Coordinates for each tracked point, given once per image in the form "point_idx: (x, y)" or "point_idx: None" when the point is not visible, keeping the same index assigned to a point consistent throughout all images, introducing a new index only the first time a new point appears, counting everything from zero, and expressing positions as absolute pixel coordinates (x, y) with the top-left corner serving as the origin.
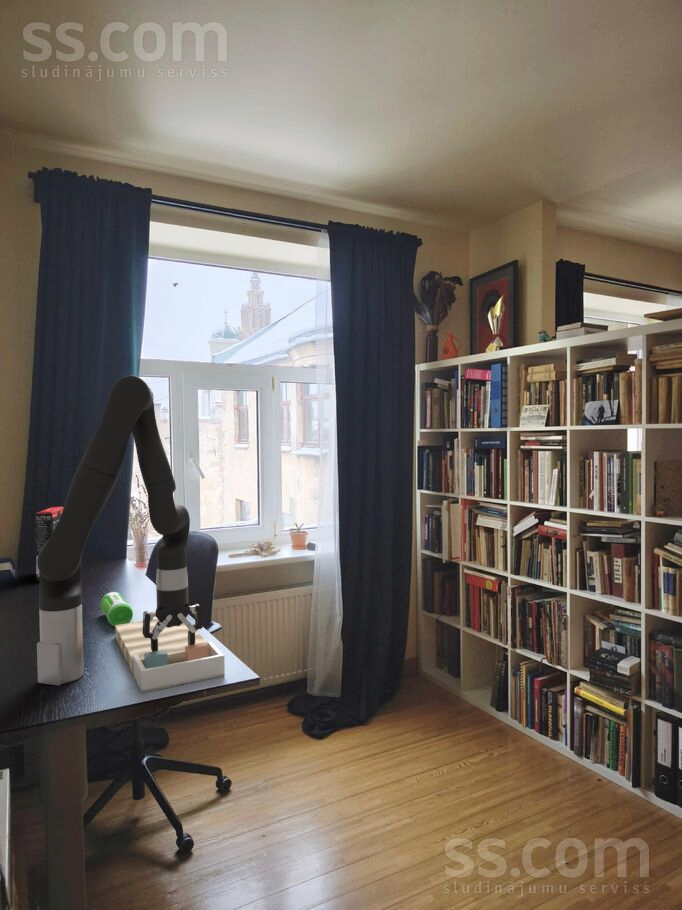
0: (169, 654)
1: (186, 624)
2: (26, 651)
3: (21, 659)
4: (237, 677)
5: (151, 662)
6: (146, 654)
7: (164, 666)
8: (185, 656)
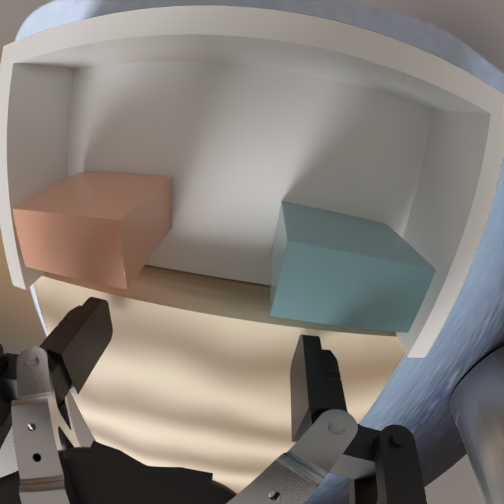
0: (228, 318)
1: (39, 415)
2: (424, 476)
3: (452, 458)
4: (46, 28)
5: (387, 245)
6: (409, 308)
7: (390, 45)
8: (152, 251)
